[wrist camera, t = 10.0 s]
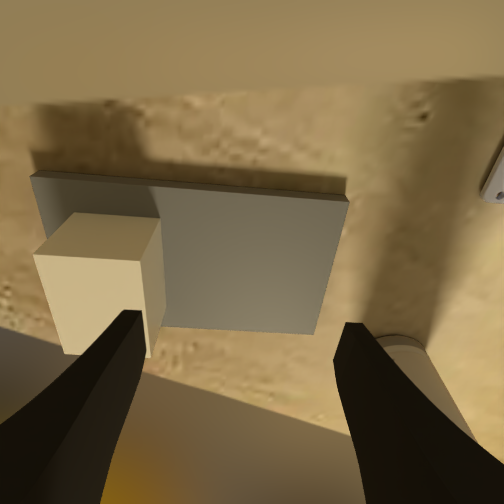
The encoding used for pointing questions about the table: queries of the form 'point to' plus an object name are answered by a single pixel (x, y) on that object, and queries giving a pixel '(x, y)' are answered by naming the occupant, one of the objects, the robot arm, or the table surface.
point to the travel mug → (423, 375)
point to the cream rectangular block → (102, 276)
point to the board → (219, 245)
